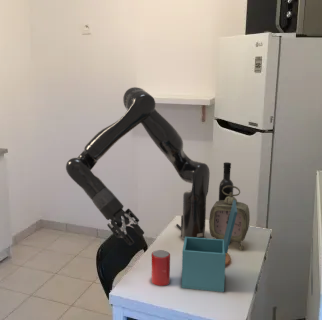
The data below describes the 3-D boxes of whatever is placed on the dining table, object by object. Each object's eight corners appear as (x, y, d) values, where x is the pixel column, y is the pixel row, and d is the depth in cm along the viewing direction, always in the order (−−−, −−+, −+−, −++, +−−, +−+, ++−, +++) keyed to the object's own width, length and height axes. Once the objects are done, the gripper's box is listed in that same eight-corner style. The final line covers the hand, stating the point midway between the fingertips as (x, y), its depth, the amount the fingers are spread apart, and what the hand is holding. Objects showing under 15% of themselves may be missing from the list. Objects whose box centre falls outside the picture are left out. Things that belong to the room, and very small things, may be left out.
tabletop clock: (208, 246, 176) (210, 186, 170) (212, 237, 184) (215, 180, 178) (245, 252, 170) (249, 190, 164) (248, 243, 178) (252, 184, 172)
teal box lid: (234, 211, 135) (237, 212, 135) (233, 199, 146) (235, 200, 146) (224, 252, 139) (227, 253, 139) (224, 238, 150) (226, 238, 150)
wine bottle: (231, 227, 194) (234, 161, 187) (230, 232, 189) (233, 165, 182) (218, 226, 196) (221, 161, 189) (217, 231, 191) (219, 164, 183)
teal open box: (181, 287, 145) (182, 250, 142) (184, 271, 156) (184, 236, 153) (223, 292, 142) (225, 254, 139) (223, 274, 153) (225, 239, 150)
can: (147, 279, 151) (147, 252, 149) (162, 274, 154) (162, 248, 152) (159, 287, 146) (159, 259, 143) (173, 282, 149) (173, 254, 147)
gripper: (104, 203, 145) (136, 241, 143) (122, 191, 157) (152, 226, 155) (90, 216, 149) (121, 253, 146) (110, 203, 161) (138, 237, 159)
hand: (137, 239), depth 151 cm, fingers open, 8 cm apart
